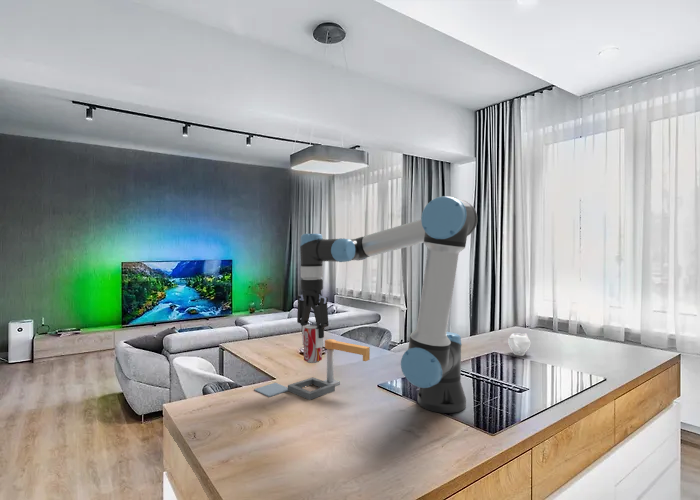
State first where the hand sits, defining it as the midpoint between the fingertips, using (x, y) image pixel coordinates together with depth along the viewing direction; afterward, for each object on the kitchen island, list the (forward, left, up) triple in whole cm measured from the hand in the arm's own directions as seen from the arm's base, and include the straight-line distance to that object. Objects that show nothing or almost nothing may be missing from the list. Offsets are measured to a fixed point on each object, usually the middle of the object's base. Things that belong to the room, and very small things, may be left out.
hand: (312, 345), depth 140 cm
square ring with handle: (+1, -3, -16) cm, 16 cm away
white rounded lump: (-32, -98, -16) cm, 104 cm away
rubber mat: (+11, +9, -16) cm, 21 cm away
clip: (-6, -10, -4) cm, 13 cm away
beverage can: (0, 0, -6) cm, 6 cm away
